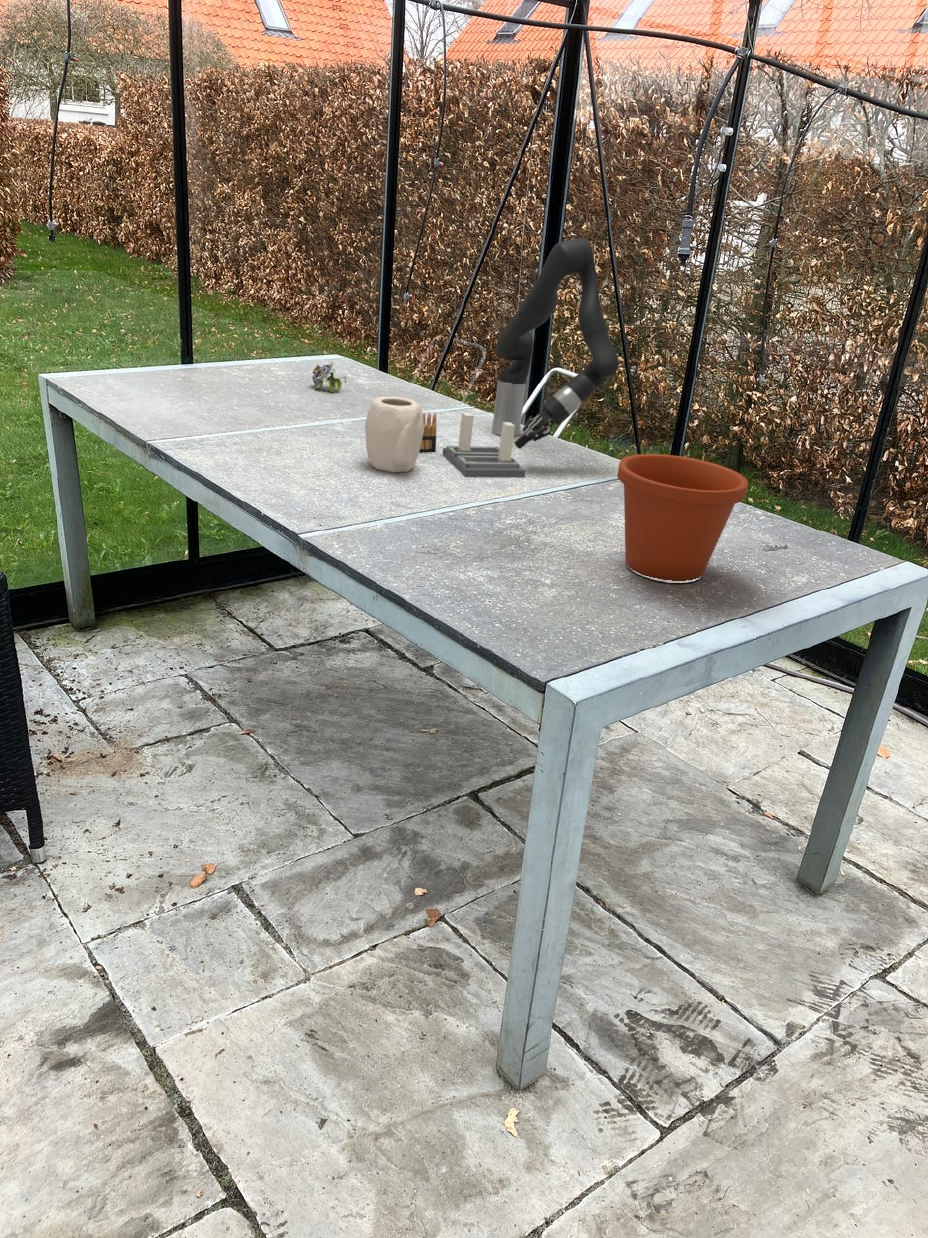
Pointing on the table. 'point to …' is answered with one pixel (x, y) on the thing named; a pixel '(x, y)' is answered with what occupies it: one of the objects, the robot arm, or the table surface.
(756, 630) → the table surface
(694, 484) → the flower pot
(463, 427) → the tab
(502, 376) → the robot arm
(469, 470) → the switch board
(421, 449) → the ammunition clip
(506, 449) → the tab
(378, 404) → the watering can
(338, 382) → the passion flower
